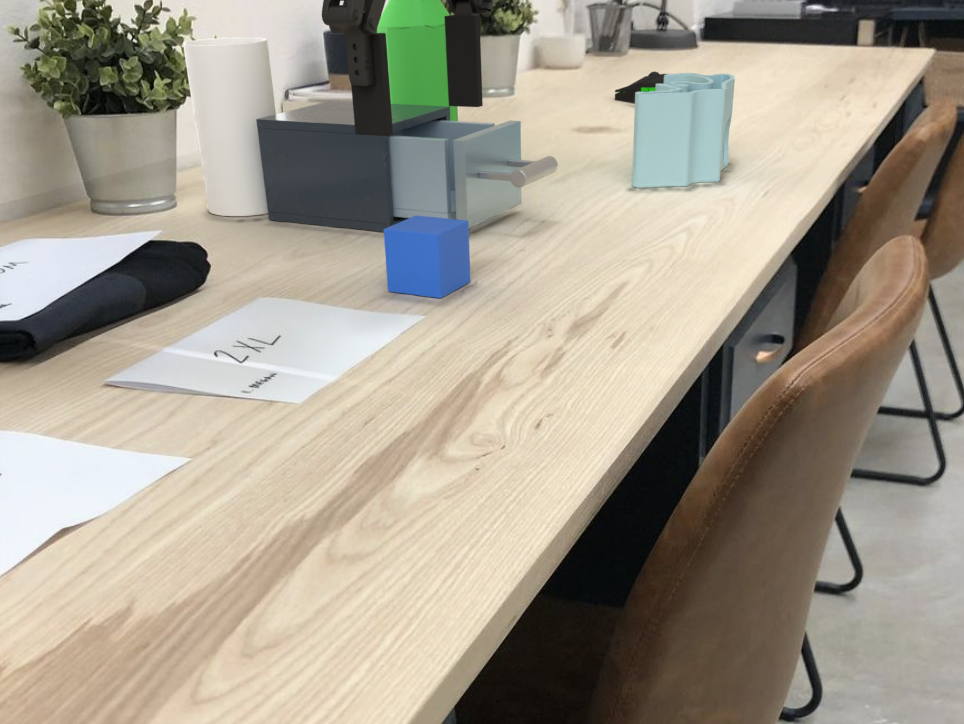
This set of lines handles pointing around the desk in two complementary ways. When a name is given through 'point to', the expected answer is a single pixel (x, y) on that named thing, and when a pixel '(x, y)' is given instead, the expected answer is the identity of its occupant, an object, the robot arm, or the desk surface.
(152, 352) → the desk surface
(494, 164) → the drawer
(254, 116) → the cup
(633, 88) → the black spring clamp
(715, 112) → the squiggly pen holder
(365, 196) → the dark gray drawer cabinet
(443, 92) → the bottle
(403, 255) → the cube
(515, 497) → the desk surface
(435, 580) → the desk surface
